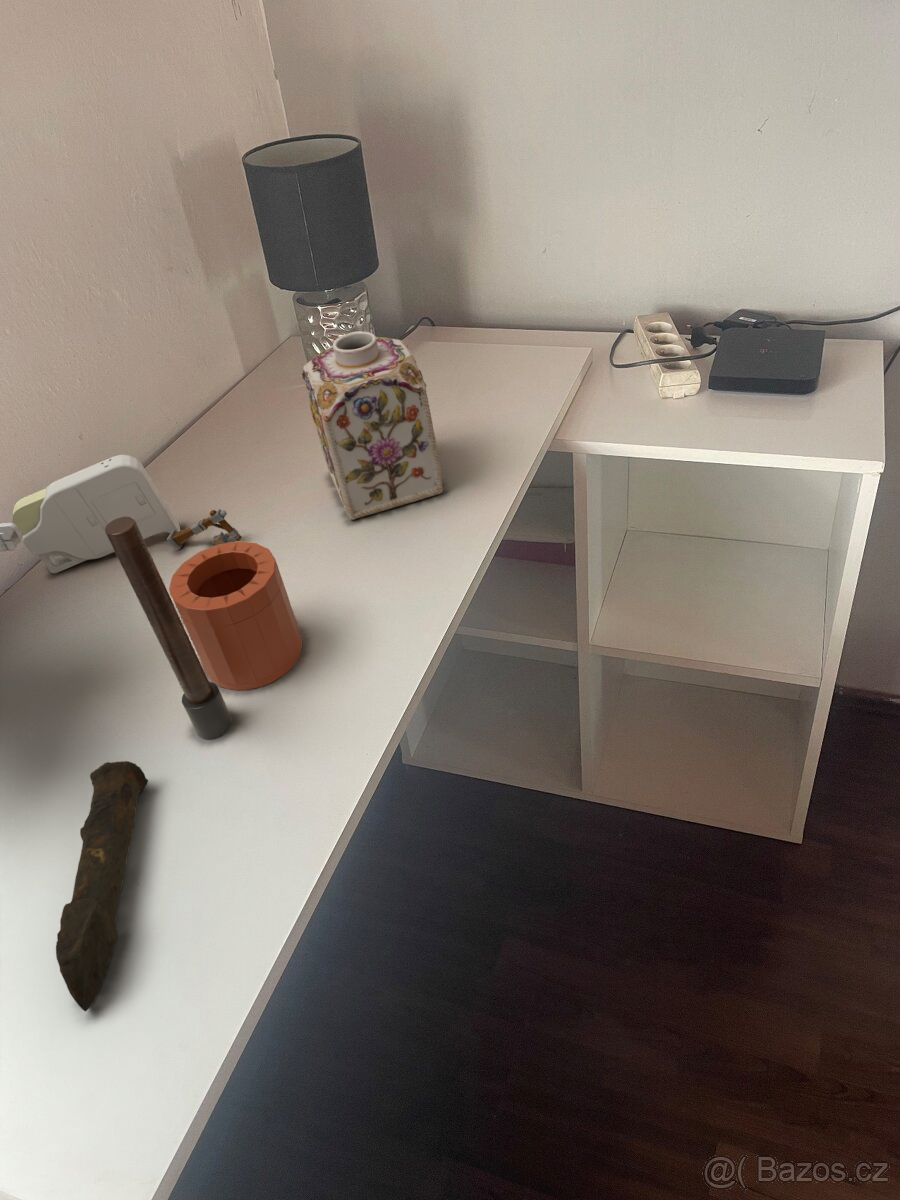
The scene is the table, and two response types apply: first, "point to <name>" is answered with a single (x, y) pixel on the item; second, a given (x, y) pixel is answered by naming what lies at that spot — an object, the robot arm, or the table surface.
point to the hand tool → (98, 881)
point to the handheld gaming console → (90, 512)
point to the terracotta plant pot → (237, 614)
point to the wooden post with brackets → (203, 525)
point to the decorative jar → (373, 423)
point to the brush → (169, 630)
